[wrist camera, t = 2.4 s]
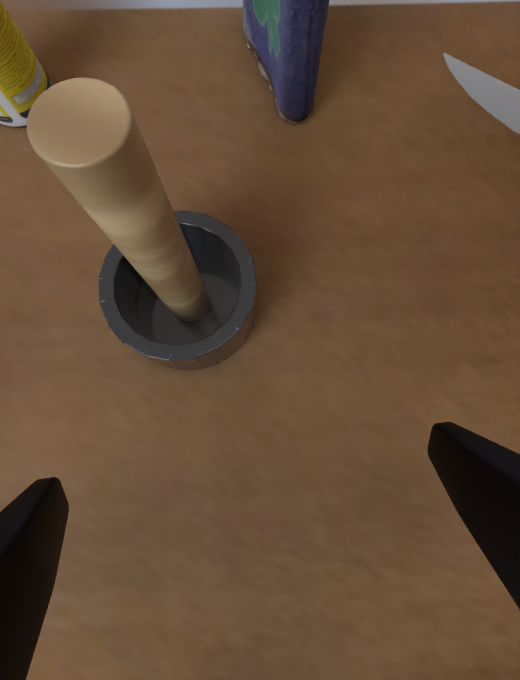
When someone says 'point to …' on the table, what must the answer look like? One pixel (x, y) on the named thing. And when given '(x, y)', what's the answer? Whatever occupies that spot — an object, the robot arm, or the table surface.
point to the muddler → (117, 185)
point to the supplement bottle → (18, 74)
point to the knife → (488, 92)
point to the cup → (161, 324)
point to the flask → (287, 50)
